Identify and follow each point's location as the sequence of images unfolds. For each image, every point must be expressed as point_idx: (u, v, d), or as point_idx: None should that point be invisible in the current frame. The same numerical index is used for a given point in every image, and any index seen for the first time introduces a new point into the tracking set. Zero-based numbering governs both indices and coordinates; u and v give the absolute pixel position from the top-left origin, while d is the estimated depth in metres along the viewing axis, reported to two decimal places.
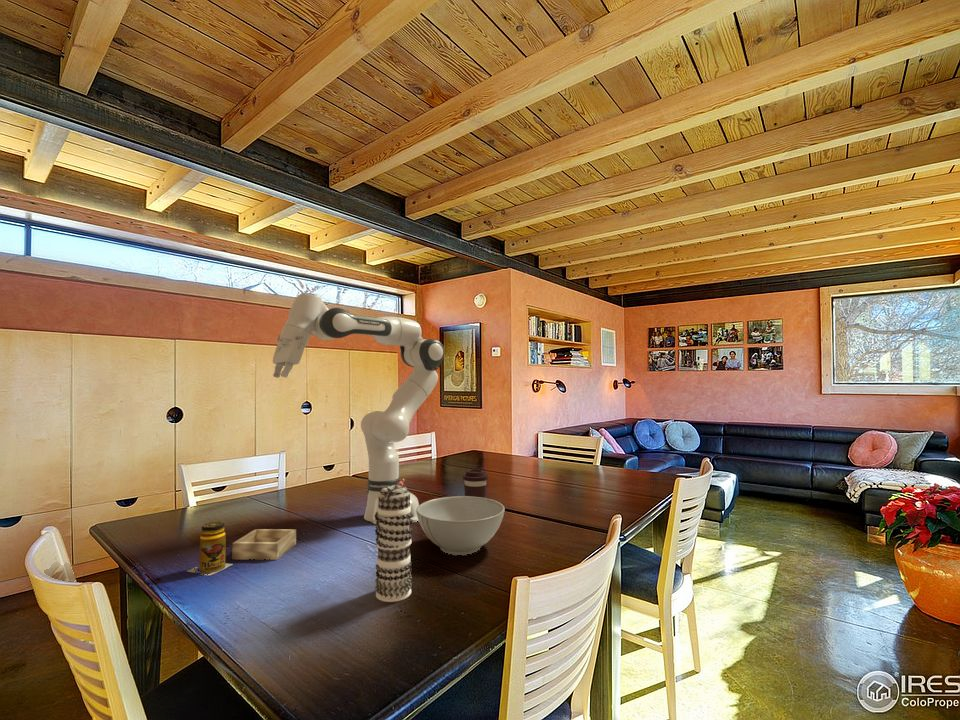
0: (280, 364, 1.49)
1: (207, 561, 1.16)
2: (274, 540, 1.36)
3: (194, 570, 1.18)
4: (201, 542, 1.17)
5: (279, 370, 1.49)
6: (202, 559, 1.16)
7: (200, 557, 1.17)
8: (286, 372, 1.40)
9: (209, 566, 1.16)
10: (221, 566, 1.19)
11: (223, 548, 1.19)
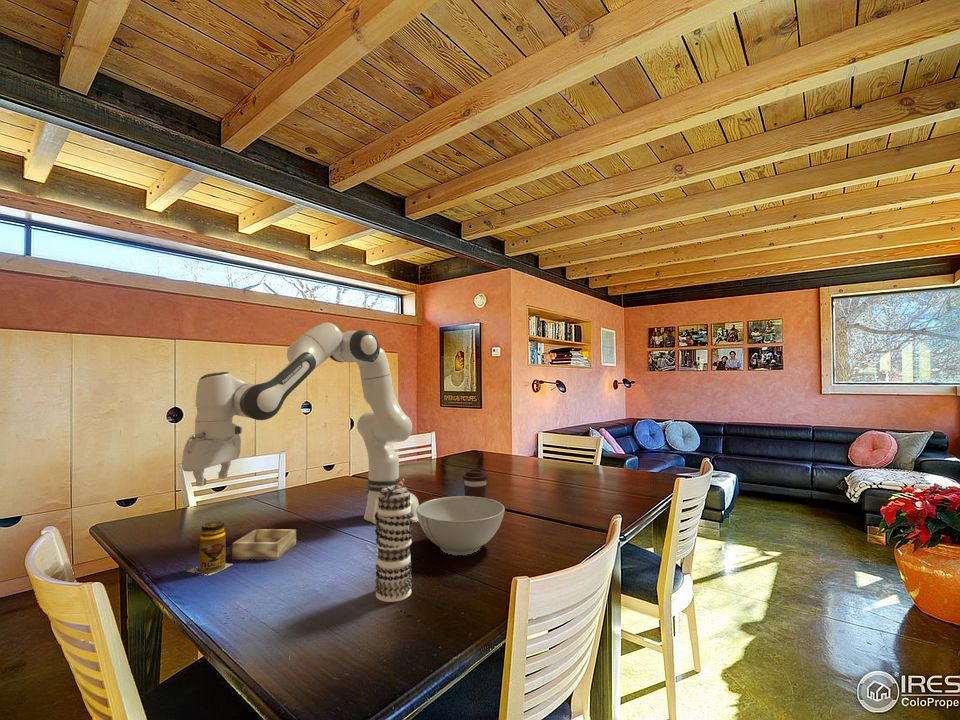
0: None
1: (207, 561, 1.16)
2: (274, 540, 1.36)
3: (194, 570, 1.18)
4: (201, 542, 1.17)
5: (225, 468, 1.26)
6: (202, 559, 1.16)
7: (200, 557, 1.17)
8: (199, 480, 1.15)
9: (209, 566, 1.16)
10: (221, 566, 1.19)
11: (223, 548, 1.19)
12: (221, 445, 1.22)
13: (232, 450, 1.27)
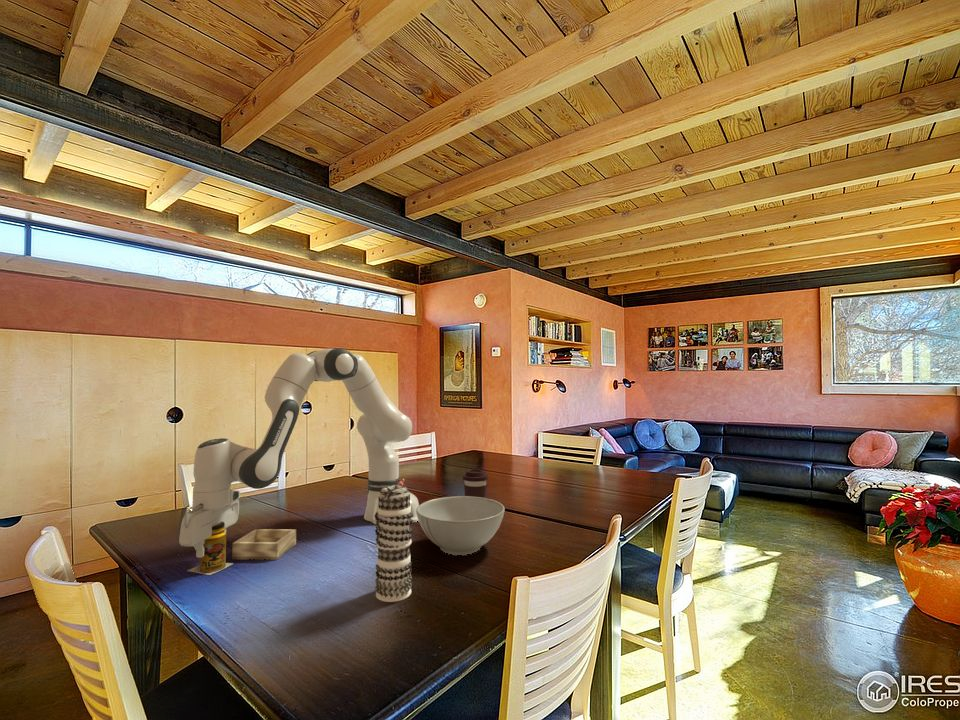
0: None
1: (207, 560, 1.17)
2: (274, 540, 1.36)
3: (194, 569, 1.18)
4: None
5: None
6: (203, 559, 1.17)
7: None
8: (200, 551, 1.15)
9: (209, 565, 1.17)
10: (221, 565, 1.19)
11: (223, 547, 1.20)
12: (219, 513, 1.21)
13: (230, 515, 1.26)
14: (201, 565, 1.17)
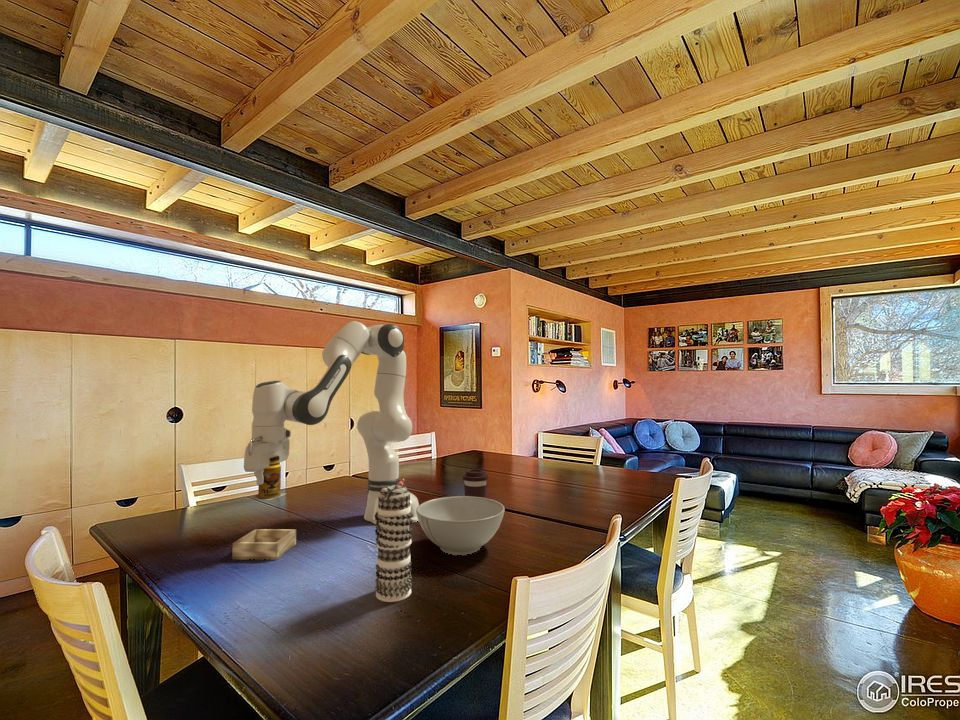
0: None
1: (266, 488, 1.29)
2: (274, 540, 1.36)
3: (254, 497, 1.31)
4: None
5: None
6: (262, 486, 1.29)
7: (259, 485, 1.30)
8: (260, 479, 1.28)
9: (268, 492, 1.29)
10: (278, 494, 1.32)
11: (279, 478, 1.32)
12: (274, 447, 1.34)
13: (283, 451, 1.39)
14: (260, 492, 1.30)
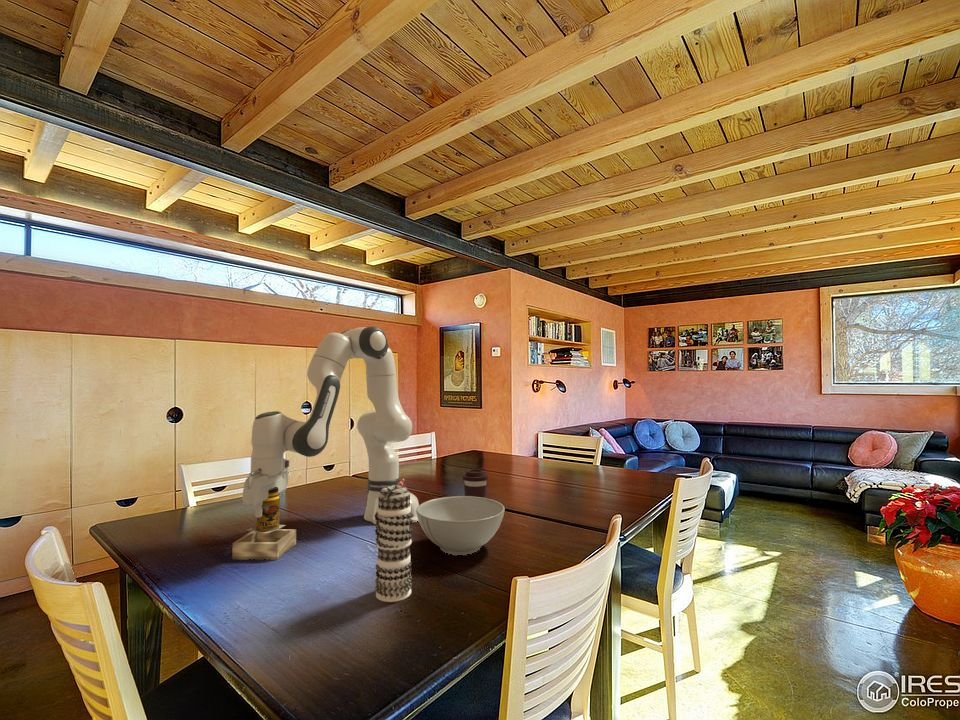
0: None
1: (265, 520, 1.29)
2: (274, 540, 1.36)
3: (252, 529, 1.30)
4: None
5: None
6: (260, 519, 1.29)
7: (258, 517, 1.29)
8: (258, 512, 1.27)
9: (266, 525, 1.29)
10: (276, 526, 1.31)
11: (278, 510, 1.32)
12: (273, 479, 1.33)
13: (282, 482, 1.38)
14: (259, 525, 1.29)
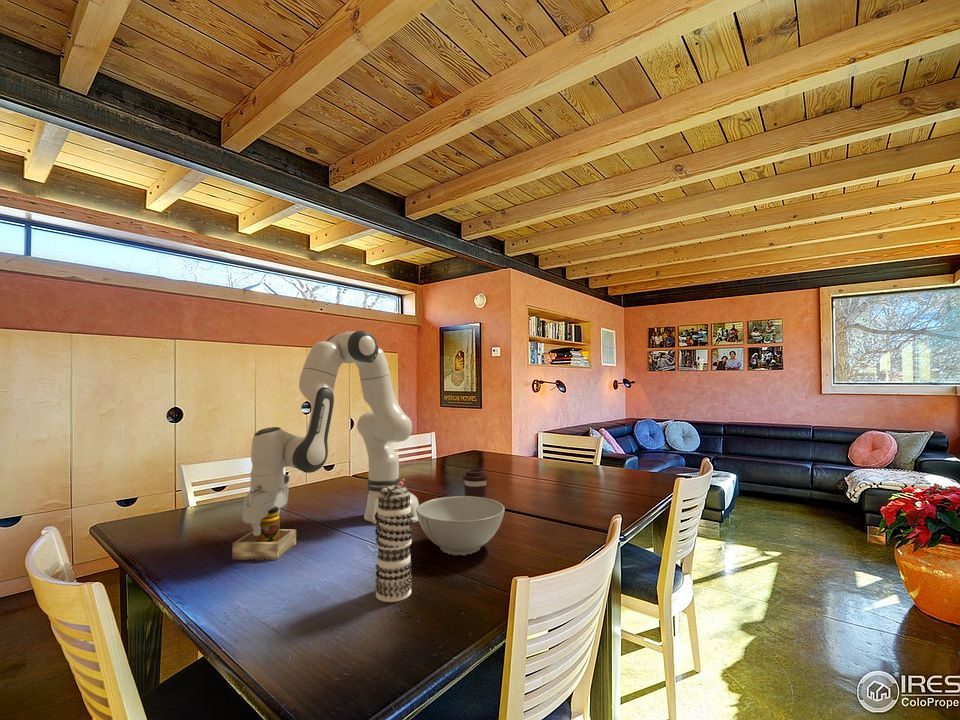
0: None
1: (265, 541, 1.28)
2: None
3: None
4: None
5: None
6: (260, 539, 1.28)
7: (258, 537, 1.29)
8: (256, 530, 1.26)
9: None
10: None
11: (278, 530, 1.31)
12: (273, 495, 1.33)
13: (282, 497, 1.38)
14: None
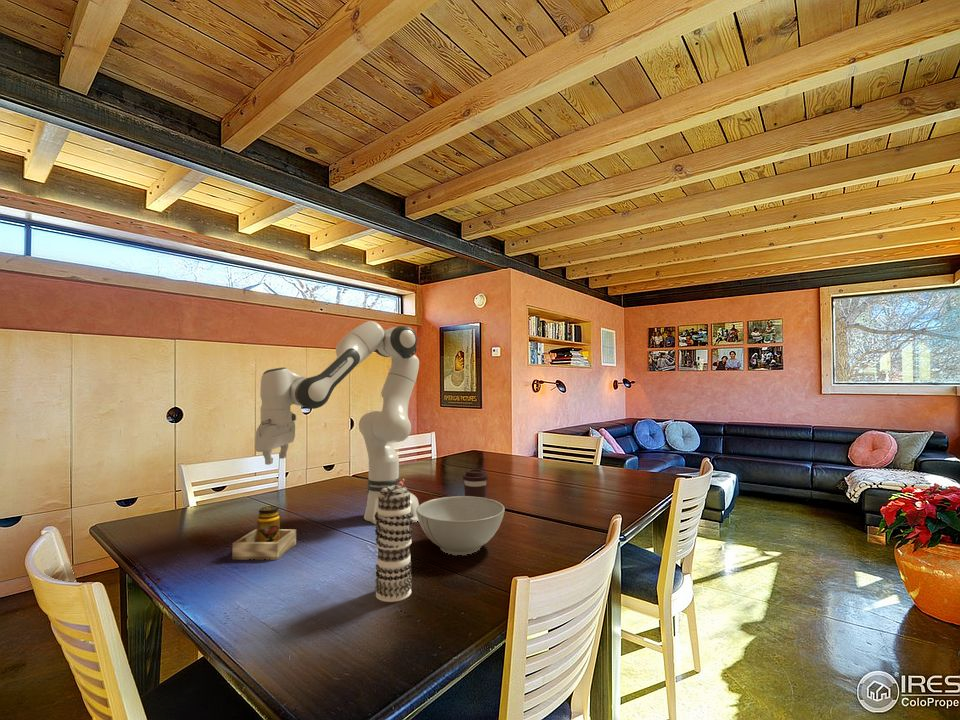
0: None
1: (265, 541, 1.28)
2: None
3: None
4: (259, 524, 1.29)
5: (284, 450, 1.47)
6: (260, 539, 1.28)
7: (258, 537, 1.29)
8: (268, 459, 1.36)
9: None
10: None
11: (278, 530, 1.31)
12: (282, 430, 1.43)
13: (289, 434, 1.48)
14: None
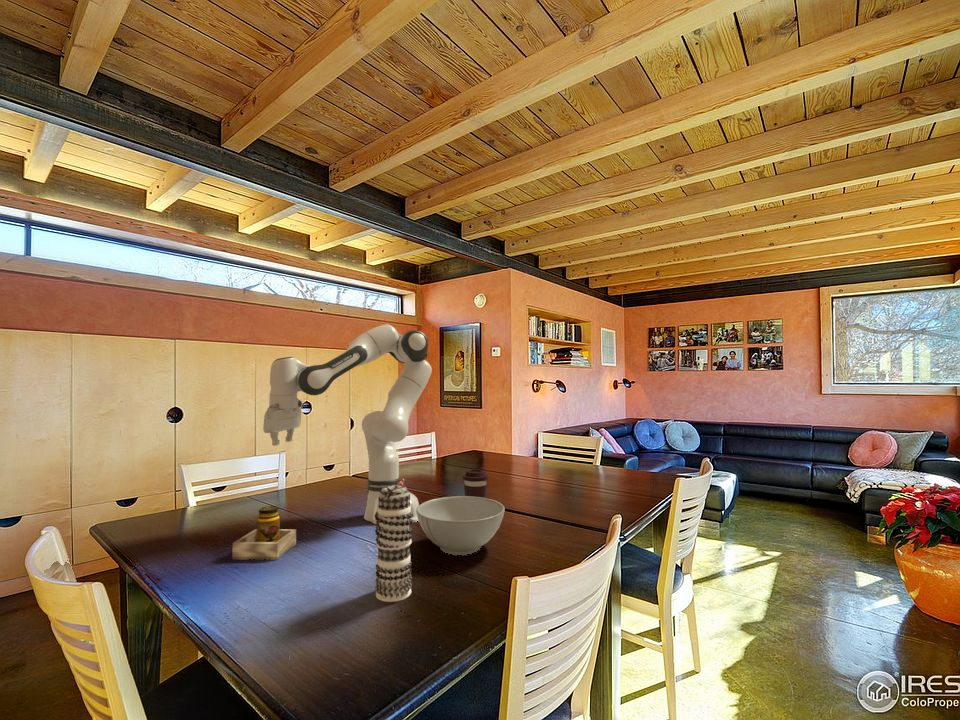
0: (289, 428, 1.58)
1: (265, 541, 1.28)
2: None
3: None
4: (259, 524, 1.29)
5: (290, 434, 1.58)
6: (260, 539, 1.28)
7: (258, 537, 1.29)
8: (275, 441, 1.47)
9: None
10: None
11: (278, 530, 1.31)
12: (288, 415, 1.54)
13: (295, 419, 1.59)
14: None
